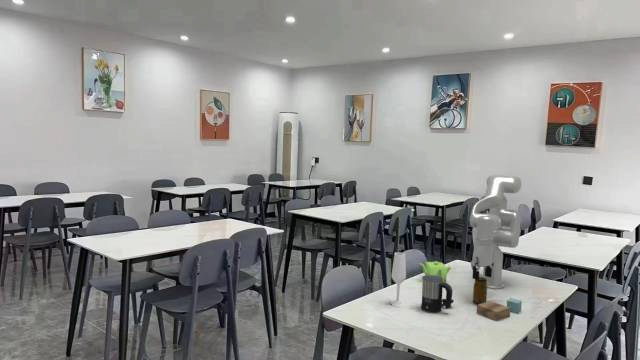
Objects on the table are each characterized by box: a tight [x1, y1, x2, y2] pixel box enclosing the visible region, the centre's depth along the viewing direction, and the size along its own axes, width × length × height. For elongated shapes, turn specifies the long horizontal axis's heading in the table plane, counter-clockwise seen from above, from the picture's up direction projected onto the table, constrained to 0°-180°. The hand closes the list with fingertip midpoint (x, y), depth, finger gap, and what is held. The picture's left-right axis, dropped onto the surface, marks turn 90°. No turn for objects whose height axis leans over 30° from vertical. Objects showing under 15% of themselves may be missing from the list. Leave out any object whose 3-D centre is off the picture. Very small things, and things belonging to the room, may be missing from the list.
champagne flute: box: [390, 251, 407, 307], centre depth 206 cm, size 7×7×24 cm
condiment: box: [468, 277, 488, 306], centre depth 211 cm, size 7×8×12 cm
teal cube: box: [506, 297, 523, 315], centre depth 203 cm, size 5×5×5 cm
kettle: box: [419, 261, 452, 283], centre depth 243 cm, size 15×14×11 cm
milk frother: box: [420, 274, 455, 314], centre depth 203 cm, size 14×16×15 cm
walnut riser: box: [476, 300, 511, 322], centre depth 197 cm, size 10×10×4 cm
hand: (481, 277), depth 210 cm, fingers open, 9 cm apart
